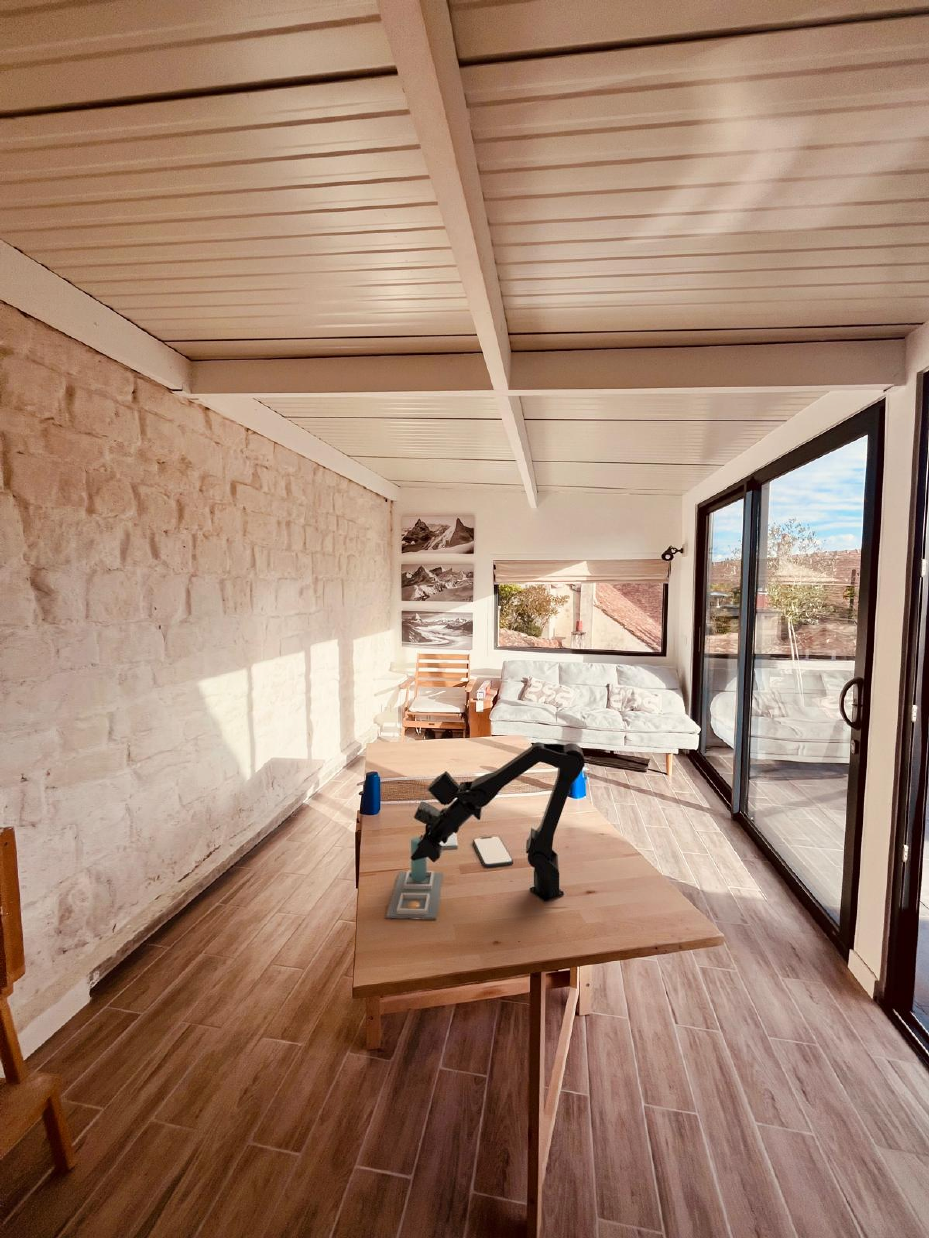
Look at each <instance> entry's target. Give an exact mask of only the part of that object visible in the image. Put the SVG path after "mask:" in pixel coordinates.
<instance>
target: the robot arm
mask: <svg viewBox="0 0 929 1238" xmlns="http://www.w3.org/2000/svg"><path fill="white" fill-rule="evenodd" d="M585 762H586V761H585V757H584V752H583V750H582V748H581V747H580V746H579V745H578V744H576V743H571V742H570V743H567V744H561V743H543V742H540V741H539V742H535V743H534V742H533V744H532V745H531V746H530V747H528V748H527V749H525V750H524V751H523V752H521V753H520V754H518V755H517V756H516V757H514V758H513V759H511V760H510V761H508V762H507V763H506V764H504V765H503V766H501V767H500V768H498V769H497V770H495V771H492V772H490V773H486V774H483V775H482V776H479V777H477V778H475V779H474V780H471V781H470V780H469V781H462V782H459V783H458V782H457V781H456V780H455V779H454V778H453V777H452V776H451V774H450V773H449V772H448V771H447V770H445V771H444V772H443V773H442V774H440V775H437V777H435V779H434V780H433V781H431V783H430V784H429V785H428V786H427V788H426V791H428V792H429V794H431V796H433V797H434V799H435V800H437V801H438V802H439V804H440V805H443V806H444V807H442V809H440V810H439V809H438V808H436V806H434V805H432V804H429V803H428V802H426V801H421V802H420V803H419V805H418V807H417V809H416V811H415V814H414V815H413V818H414V819H415V820H416V821H418V822H420V823H422V824H424V825H425V826H424V828H425V830H424V833H423V835H422V834H421V835H420V839H419V841H418V844H417V845H418V848H417V849H416V850H415V852H414V853H413V855H412V856H411V855H410V860H411V859H412V860H413V861H414V860H418V859H422V858H426V859H427V858H428V859H429V860H430V861H431V862H432V863H436V862H437V861H438V860H439V859H440V858H441V856H442V852H443V849H442V846H441V845H440V844H439V843H440V842H443V843H444V844H445V843H446V842H447V840H448V838H449V837H450V836H451V835H452V834H453V833H455V834H457V833H458V832H459V829H460V828H461V827H462V826H463V825H464V824H465V823H466V822H467V821H468V820H469V819H470V818H471V817H473V816H474V818H476V819H477V820H478V821H480V820H481V817H482V813H483V812H482V809H483V808H484V807H486V806H487V805H489V804H490V802H491V801H493V800H494V798H495V797H496V796H497V795H498V794H499V793H500V791H501V790H502V789H503V788H504V787H505V786H507V785H508V784H510V783H511V782H512V781H514V780H515V779H516V778H518V777H520V776H522V774H524V773H526V772H527V771H528V770H531V769H532V768H533V767H535V766H536V765H537V764H539V763H543V764H546V765H548V766H549V765H550V766H552V767H554V768H557V774H556V778H555V782H554V784H553V787H552V790H551V792H550V796H549V798H548V801H547V805H546V807H545V809H544V813H543V816H542V819H541V822H540V824H539V826H538V827H537V828H536V829H535V828H532V827H531V828H530V833H529V836H528V838H527V839H526V843H525V845H526V848H525V853H526V854H527V862H528V864H529V865H530V866H531V867H532V868H533V869H534V870H533V886H531V887H529V891H530V892H531V893H532V894H534V895H535V896H536V897H537V898H538V899H540V900H542V901H543V902H545V903H546V902H549V901H552V900H553V899H557V898H559V897H562V896H564V894H565V892H564V891H563V890H562V889H560V870H559V856H558V855H559V854H557V852H556V851H555V850H554V849H553V847H554V846H553V844H554V835H555V832H556V829H557V828H558V827H557V826H558V824H559V822H560V819H561V815H562V813H563V811H564V806H565V805H566V802H567V799H568V796H569V793H570V791H571V787H572V786H573V784H574V783H575V781H576V780H577V779H578V778H579V776H580V774H581V773H582V770H584V766H585V764H586V763H585ZM445 806H447V807H445Z"/></svg>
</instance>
